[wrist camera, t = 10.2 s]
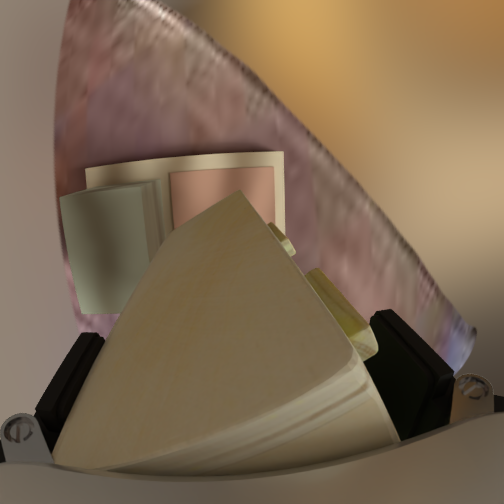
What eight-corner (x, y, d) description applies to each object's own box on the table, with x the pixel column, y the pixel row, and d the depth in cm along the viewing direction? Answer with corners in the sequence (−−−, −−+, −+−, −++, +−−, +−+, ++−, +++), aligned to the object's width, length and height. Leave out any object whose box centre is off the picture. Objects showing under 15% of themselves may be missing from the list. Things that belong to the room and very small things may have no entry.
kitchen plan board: (277, 152, 32) (305, 149, 22) (280, 275, 36) (304, 322, 26) (95, 167, 30) (46, 174, 20) (112, 286, 34) (78, 333, 24)
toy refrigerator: (299, 267, 26) (447, 495, 6) (222, 311, 26) (237, 573, 6) (249, 182, 23) (408, 317, 3) (168, 232, 24) (28, 473, 4)
